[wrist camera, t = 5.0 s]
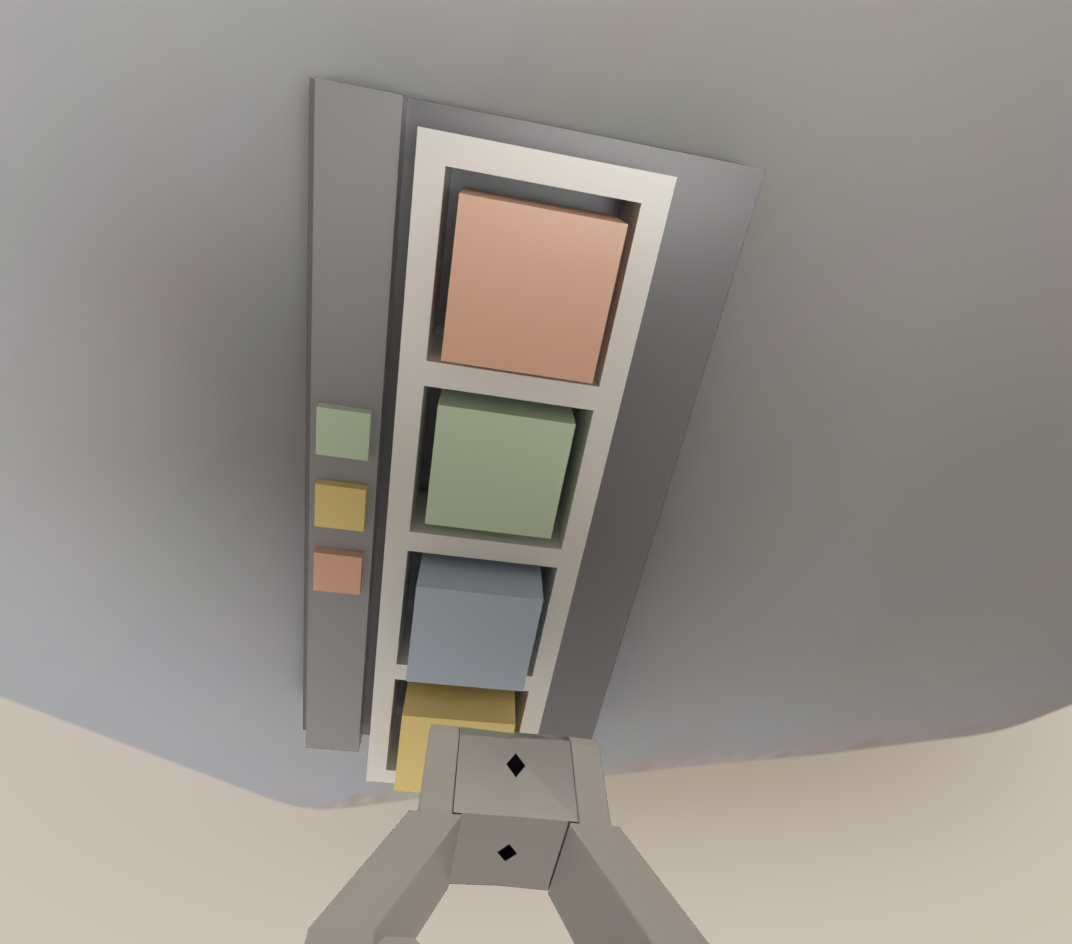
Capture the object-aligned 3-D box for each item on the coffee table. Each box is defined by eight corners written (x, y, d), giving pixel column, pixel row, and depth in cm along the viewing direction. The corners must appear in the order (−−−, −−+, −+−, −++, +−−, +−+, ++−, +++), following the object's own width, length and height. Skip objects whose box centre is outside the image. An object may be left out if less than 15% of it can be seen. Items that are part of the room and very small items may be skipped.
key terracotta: (613, 214, 19) (628, 224, 16) (582, 357, 21) (592, 383, 18) (464, 187, 18) (459, 193, 16) (447, 336, 20) (440, 360, 18)
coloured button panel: (744, 167, 22) (806, 173, 17) (582, 719, 34) (595, 806, 29) (326, 83, 20) (277, 66, 16) (314, 697, 32) (284, 785, 28)
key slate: (539, 558, 24) (543, 600, 22) (521, 644, 26) (523, 691, 24) (424, 544, 24) (416, 586, 21) (413, 634, 26) (405, 681, 23)
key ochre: (514, 677, 27) (515, 724, 25) (499, 747, 29) (499, 797, 27) (410, 667, 26) (402, 715, 24) (402, 739, 28) (394, 790, 26)
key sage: (568, 396, 22) (575, 424, 20) (546, 502, 24) (550, 538, 22) (444, 378, 22) (438, 404, 20) (431, 488, 24) (424, 523, 22)
